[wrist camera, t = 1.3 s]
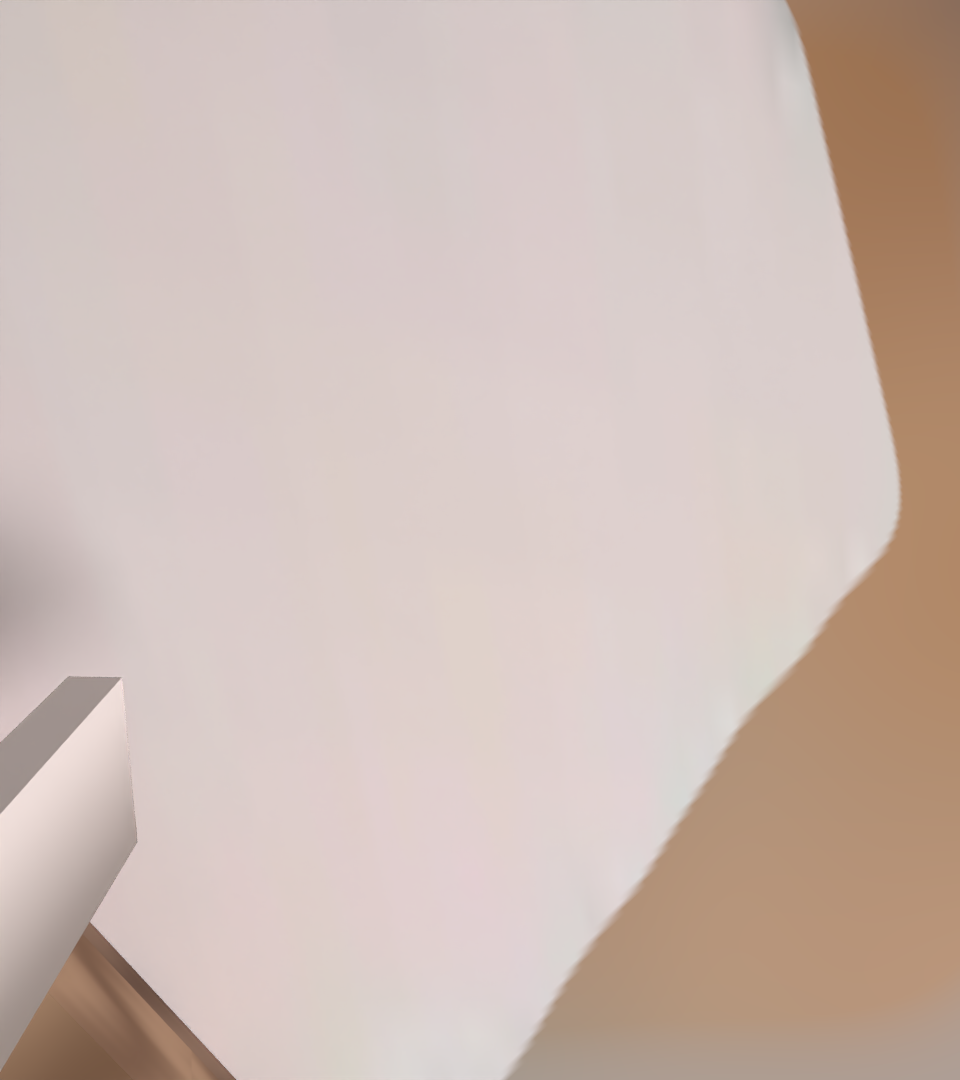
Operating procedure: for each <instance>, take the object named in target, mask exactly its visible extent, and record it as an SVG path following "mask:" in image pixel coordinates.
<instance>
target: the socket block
mask: <svg viewBox="0 0 960 1080" xmlns="http://www.w3.org/2000/svg"><path fill="white" fill-rule="evenodd" d="M0 1080H236V1079H235V1078H234V1077H233V1076H232V1075H231V1074H230V1073H229V1072H228V1070H227V1069H226V1068H225V1067H224V1066H223V1065H222V1064H221V1063H220V1062H219V1061H218V1060H217V1059H216V1058H215V1056H214V1055H213V1054H212V1053H211V1052H210V1051H209V1050H208V1049H207V1048H206V1047H205V1046H204V1045H203V1044H202V1042H201V1041H200V1040H199V1039H198V1038H197V1037H196V1036H195V1035H194V1034H193V1033H192V1032H191V1031H190V1030H189V1028H188V1027H187V1026H186V1025H185V1024H184V1023H183V1022H182V1021H181V1020H180V1019H179V1018H178V1017H177V1015H176V1014H175V1013H174V1012H173V1011H172V1010H171V1009H170V1008H169V1007H168V1006H167V1005H166V1004H165V1003H164V1001H163V1000H162V999H161V998H160V997H159V996H158V995H157V994H156V993H155V992H154V991H153V990H152V989H151V987H150V986H149V985H148V984H147V983H146V982H145V981H144V980H143V979H142V978H141V977H140V976H139V975H138V973H137V972H136V971H135V970H134V969H133V968H132V967H131V966H130V965H129V964H128V963H127V962H126V961H125V959H124V958H123V957H122V956H121V955H120V954H119V953H118V952H117V951H116V950H115V949H114V948H113V947H112V945H111V944H110V943H109V942H108V941H107V940H106V939H105V938H104V937H103V936H102V935H101V934H100V933H99V931H98V930H97V929H96V928H95V927H94V926H93V925H92V924H91V923H90V922H89V924H88V925H87V927H86V929H85V930H84V932H83V934H82V935H81V937H80V939H79V940H78V942H77V944H76V946H75V947H74V949H73V951H72V952H71V954H70V956H69V957H68V959H67V961H66V962H65V964H64V966H63V967H62V969H61V971H60V972H59V974H58V976H57V977H56V979H55V981H54V982H53V984H52V986H51V987H50V989H49V991H48V992H47V994H46V996H45V998H44V999H43V1001H42V1003H41V1004H40V1006H39V1008H38V1009H37V1011H36V1013H35V1014H34V1016H33V1018H32V1019H31V1021H30V1023H29V1024H28V1026H27V1028H26V1029H25V1031H24V1033H23V1034H22V1036H21V1038H20V1039H19V1041H18V1043H17V1044H16V1046H15V1048H14V1050H13V1051H12V1053H11V1055H10V1056H9V1058H8V1060H7V1061H6V1063H5V1065H4V1066H3V1068H2V1070H1V1071H0Z"/></svg>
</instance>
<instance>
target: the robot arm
mask: <svg viewBox="0 0 960 1080" xmlns="http://www.w3.org/2000/svg"><path fill="white" fill-rule="evenodd" d="M136 843H137V832H136V821H135V811H134V800H133V789H132V779H131V768H130V758H129V747H128V736H127V726H126V715H125V704H124V694H123V683H122V678H121V677H70V676H69V677H67V678H66V679H65V680H64V681H63V682H62V683H61V684H60V685H59V686H58V687H57V688H56V689H55V690H54V691H53V692H52V693H51V694H50V695H49V696H48V697H47V698H46V699H45V700H44V701H43V702H42V703H41V704H40V705H39V706H38V707H37V708H36V709H34V710H33V711H32V712H31V713H30V714H29V715H28V716H27V717H26V718H25V719H24V720H23V721H22V722H21V723H20V724H19V725H18V726H17V727H16V728H15V729H14V730H13V731H12V732H11V733H10V734H9V735H8V736H7V737H6V738H5V739H4V740H3V741H1V742H0V1071H1V1070H2V1068H3V1066H4V1065H5V1063H6V1061H7V1060H8V1058H9V1056H10V1055H11V1053H12V1051H13V1050H14V1048H15V1046H16V1044H17V1043H18V1041H19V1039H20V1038H21V1036H22V1034H23V1033H24V1031H25V1029H26V1028H27V1026H28V1024H29V1023H30V1021H31V1019H32V1018H33V1016H34V1014H35V1013H36V1011H37V1009H38V1008H39V1006H40V1004H41V1003H42V1001H43V999H44V998H45V996H46V994H47V992H48V991H49V989H50V987H51V986H52V984H53V982H54V981H55V979H56V977H57V976H58V974H59V972H60V971H61V969H62V967H63V966H64V964H65V962H66V961H67V959H68V957H69V956H70V954H71V952H72V951H73V949H74V947H75V946H76V944H77V942H78V940H79V939H80V937H81V935H82V934H83V932H84V930H85V929H86V927H87V925H88V924H89V922H90V920H91V919H92V917H93V915H94V914H95V912H96V910H97V909H98V907H99V905H100V904H101V902H102V900H103V899H104V897H105V895H106V894H107V892H108V890H109V888H110V887H111V885H112V883H113V882H114V880H115V878H116V877H117V875H118V873H119V872H120V870H121V868H122V867H123V865H124V863H125V862H126V860H127V858H128V857H129V855H130V853H131V852H132V850H133V848H134V847H135V845H136Z"/></svg>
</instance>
